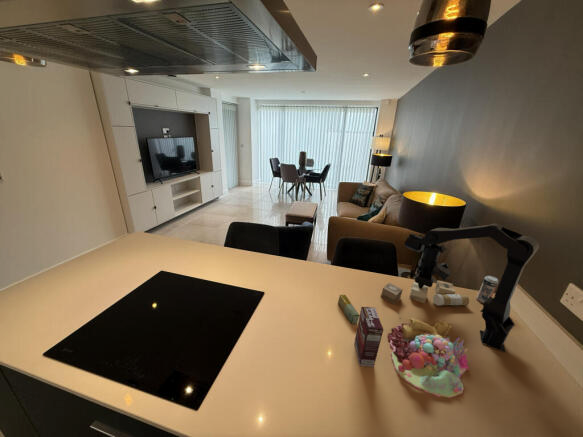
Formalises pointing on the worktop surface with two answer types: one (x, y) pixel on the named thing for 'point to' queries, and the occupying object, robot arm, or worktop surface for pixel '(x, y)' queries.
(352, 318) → the medication box
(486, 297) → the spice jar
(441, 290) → the oak block marked
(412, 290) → the plain birch block
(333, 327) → the worktop surface
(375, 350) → the supplement box
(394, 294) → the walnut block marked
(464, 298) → the granule seasoning jar
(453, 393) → the pastel sphere sculpture
